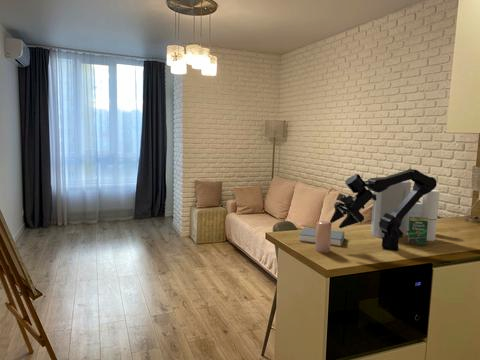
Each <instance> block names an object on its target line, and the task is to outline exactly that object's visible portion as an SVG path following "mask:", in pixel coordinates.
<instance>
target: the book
mask: <svg viewBox="0 0 480 360" xmlns="http://www.w3.org/2000/svg"><path fill="white" fill-rule="evenodd" d="M344 240H345V231H340V230H331V242H330V246H338V247H343V244H344ZM298 241H299V242H307V243H314V244H316V228H313V227H303V228H302V230H301V231H300V232H299V234H298Z"/></svg>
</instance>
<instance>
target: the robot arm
mask: <svg viewBox="0 0 480 360" xmlns="http://www.w3.org/2000/svg"><path fill="white" fill-rule="evenodd" d="M404 181H411V182H412V183H413V187H412V190H411V191H410V193H409V194H408V196H407V197H406V198H405V199H404V200H403V201H402V202H401V204H400V205H399V206H398V207H397V208H396V209H395V210H394V212H393V213H391V214H388V213H385V214H384V216H383V217H382V218H381V219H380V222H379V227H380V229H381V231H382V233H384V237H383V238H381V240H382V241H381V247H382V250H389V251H396V252H398V251H399V241H400V238H401V239H402V238H403V237H404V235H403V232H402V231H401V230H400V229H399V227H400V226H401V221H402V219H403V218H404V216H405V215H406V214H407V213H408V212H409V211H410V210H411V208H412V207H413V206H414V205H415V204H416V203H417V202H419V201H420V199H421V198H423V195H425V194H427V193H429V192H431V191H432V190H435V188H436V187H437V185H438V184H437V180H436V178H435V177H432V176H429V175H427V174H424V173H422V172H421V171H419V170H418V169H414V168H408V169H407V170H404V171H400V172H397V173H394V174H391V175H387V176H382V177H381V176H379V177H378V176H377V177H370V178H369V179H368V180H364V179H363V178H362V177H361V175H360V174H358V173H355V174H353V175H352V176H350V177H348V178H347V179H346V180H345V181H344V184H345V185H346V186H347V187H348V188H349V189H350V191H351V192H352V193H353V194H355V195H354V196H353V195H350V194H346V195H345V194H343V193H338V195H337V197H336V198H335V199H336V200H337V201H336V202H335V203H334V204H333V205H334V213H333V214H332V216H331V218H330V220H329V222H330V223H332V224H333V223H335V222H336V221H338V220H340V219H342V218H344V217H345V218H344V219H343V220H342V222H341V223H340V224H339V226H338V228H340V229H343V228H346V227H348V226H352V225H354V224H355V225H356V224H359V223H360V224H361V223H362V222H364V220H365V216H364V215H363V214H362V213H361V210H362V209H363V210H364V209H365V206H366V204H368V202H370V201H371V200H372V201H373V200H375V201H376V194H374V192H378V193H379V192H382V191H384V190H386V189H387V188H388V187H389V186H391V185H394V184H398V183H401V182H404Z"/></svg>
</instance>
